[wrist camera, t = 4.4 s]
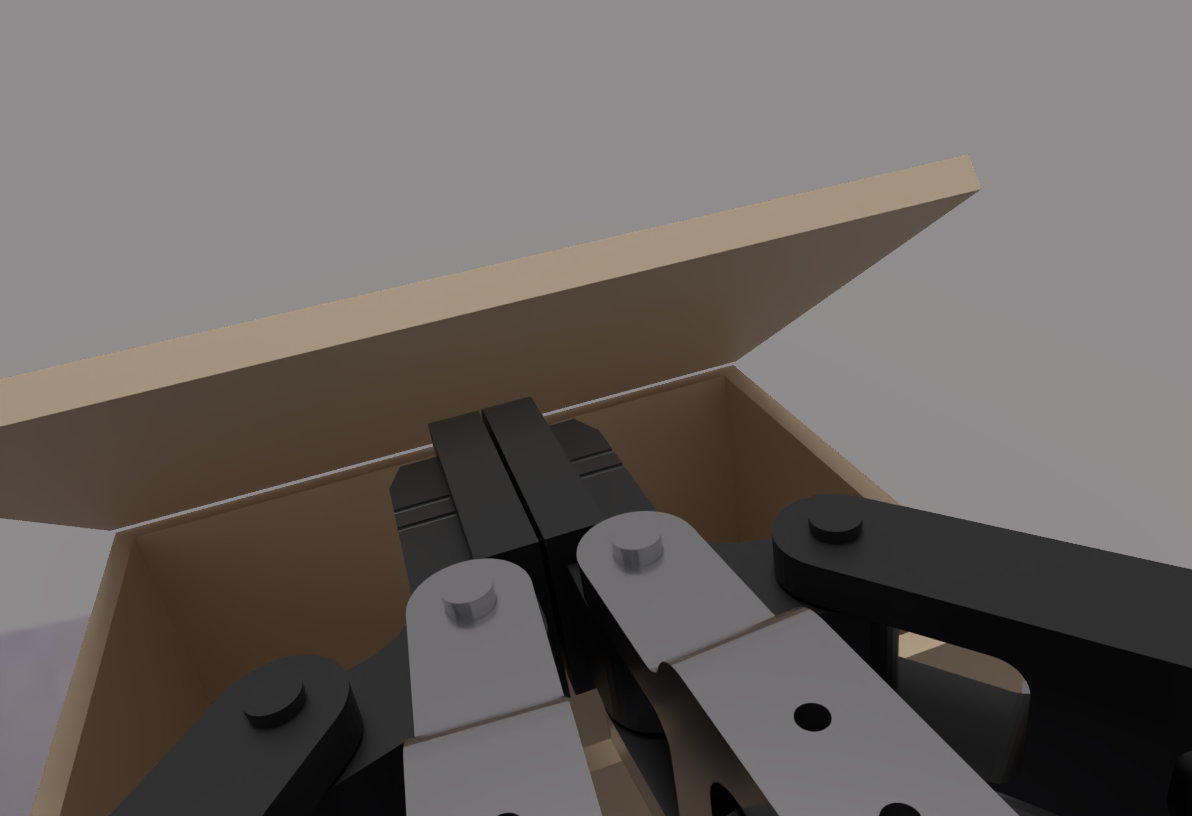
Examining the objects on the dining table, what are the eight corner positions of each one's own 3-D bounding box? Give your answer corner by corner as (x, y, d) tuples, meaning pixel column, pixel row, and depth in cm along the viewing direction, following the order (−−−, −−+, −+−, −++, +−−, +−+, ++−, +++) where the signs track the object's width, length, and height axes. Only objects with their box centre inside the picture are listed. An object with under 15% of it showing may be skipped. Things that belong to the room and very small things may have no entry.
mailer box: (200, 1281, 16) (-25, 994, 12) (232, 779, 27) (115, 532, 23) (996, 927, 20) (1029, 612, 16) (751, 605, 30) (732, 364, 26)
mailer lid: (-257, 488, 11) (-267, 433, 11) (110, 530, 23) (103, 503, 23) (981, 188, 14) (966, 148, 14) (735, 360, 26) (728, 338, 26)
